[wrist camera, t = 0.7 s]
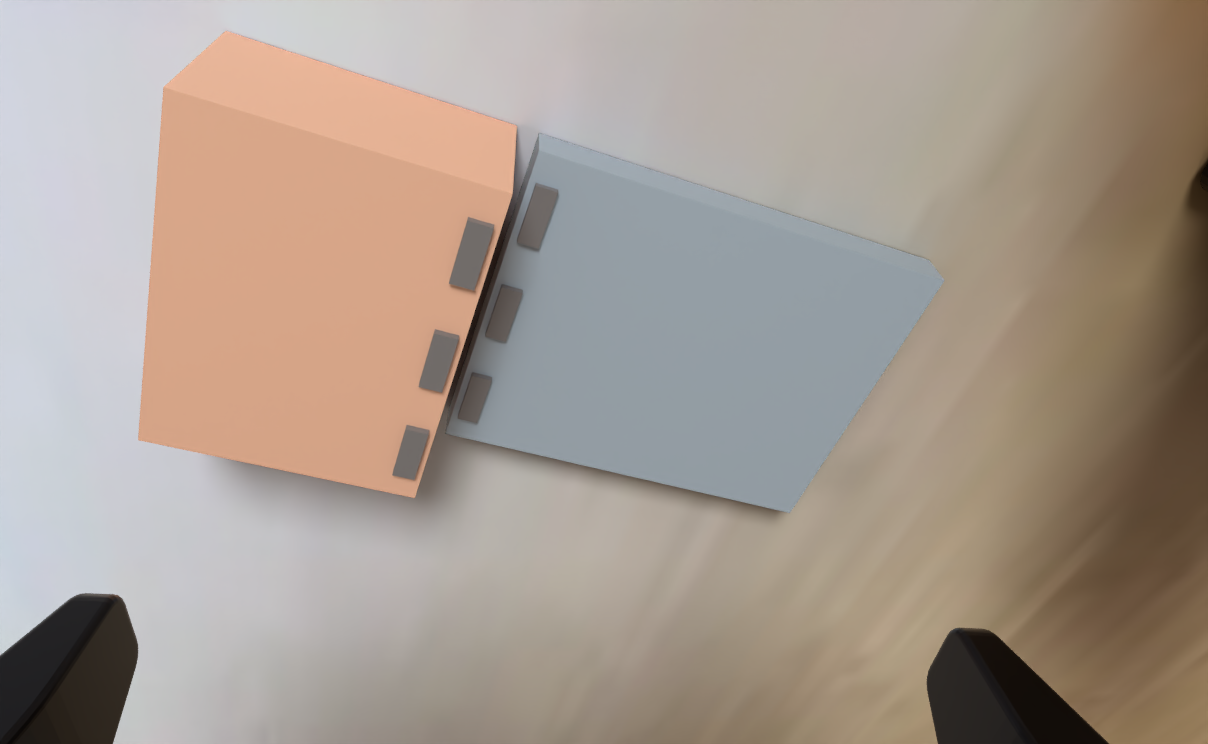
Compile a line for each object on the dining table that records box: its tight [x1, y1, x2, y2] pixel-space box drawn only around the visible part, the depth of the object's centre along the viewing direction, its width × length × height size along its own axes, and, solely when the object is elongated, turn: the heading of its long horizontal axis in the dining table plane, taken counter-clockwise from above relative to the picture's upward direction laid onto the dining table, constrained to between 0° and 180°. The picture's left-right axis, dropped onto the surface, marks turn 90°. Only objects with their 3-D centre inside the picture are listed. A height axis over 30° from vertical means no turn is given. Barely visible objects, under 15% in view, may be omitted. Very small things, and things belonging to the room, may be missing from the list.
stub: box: [138, 31, 517, 498], centre depth 19 cm, size 6×8×4 cm
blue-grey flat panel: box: [446, 133, 944, 513], centre depth 22 cm, size 10×8×1 cm
